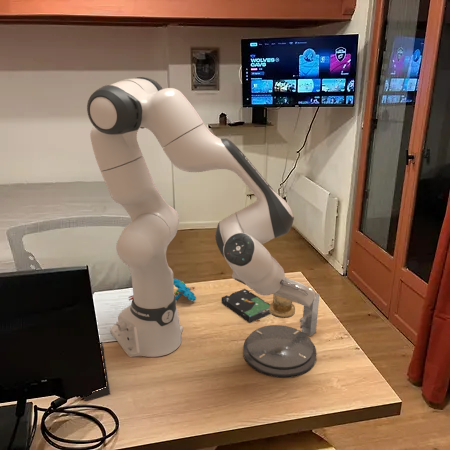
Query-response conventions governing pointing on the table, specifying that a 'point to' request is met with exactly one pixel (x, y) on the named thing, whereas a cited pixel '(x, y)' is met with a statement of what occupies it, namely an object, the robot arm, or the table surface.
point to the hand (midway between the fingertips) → (284, 295)
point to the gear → (183, 290)
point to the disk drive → (246, 305)
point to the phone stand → (106, 390)
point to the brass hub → (281, 307)
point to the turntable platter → (279, 347)
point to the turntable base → (277, 372)
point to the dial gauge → (310, 316)
